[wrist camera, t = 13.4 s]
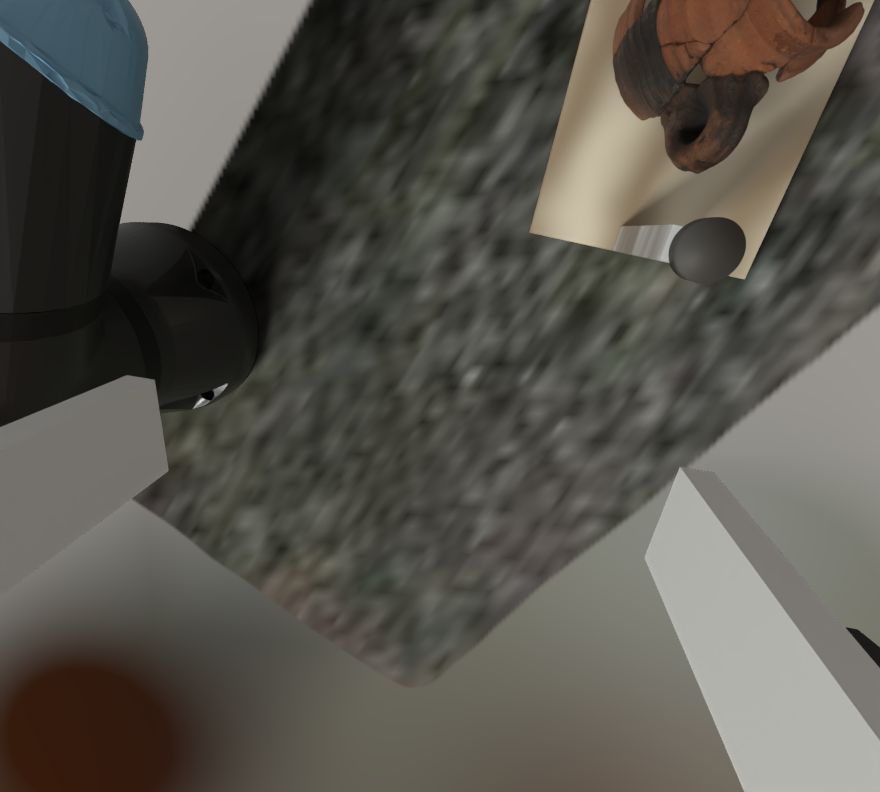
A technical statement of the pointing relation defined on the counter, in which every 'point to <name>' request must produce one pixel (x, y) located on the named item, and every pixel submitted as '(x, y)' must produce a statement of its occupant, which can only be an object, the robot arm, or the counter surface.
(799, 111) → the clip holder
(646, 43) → the pottery mug
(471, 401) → the counter surface
